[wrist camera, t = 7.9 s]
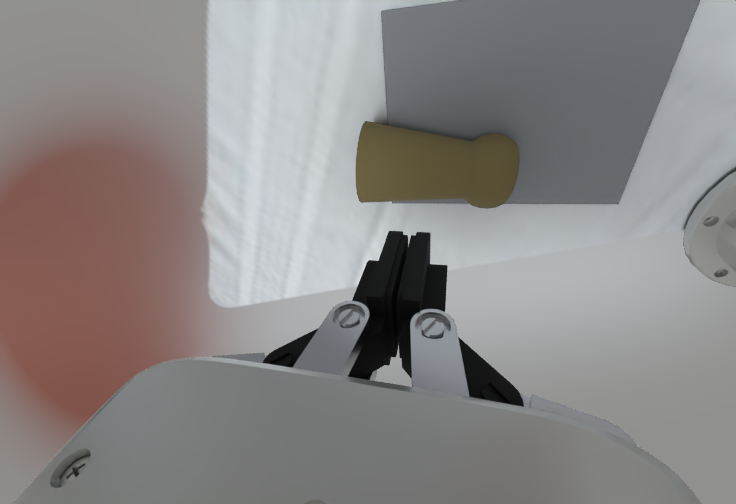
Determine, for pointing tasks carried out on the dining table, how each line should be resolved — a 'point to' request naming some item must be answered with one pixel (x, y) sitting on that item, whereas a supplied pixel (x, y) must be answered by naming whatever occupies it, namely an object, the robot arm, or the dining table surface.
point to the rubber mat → (538, 84)
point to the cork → (434, 166)
